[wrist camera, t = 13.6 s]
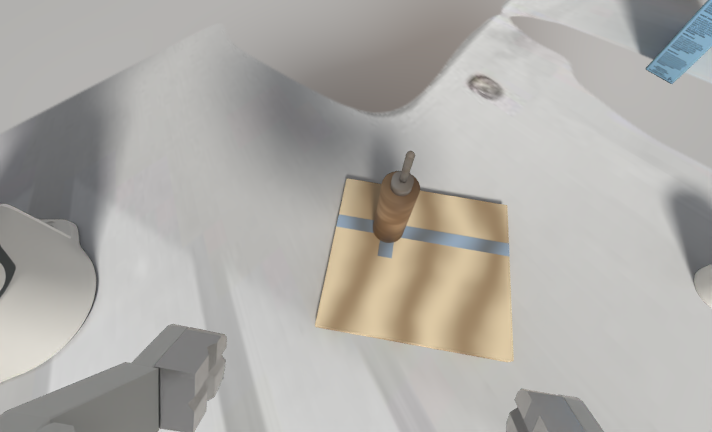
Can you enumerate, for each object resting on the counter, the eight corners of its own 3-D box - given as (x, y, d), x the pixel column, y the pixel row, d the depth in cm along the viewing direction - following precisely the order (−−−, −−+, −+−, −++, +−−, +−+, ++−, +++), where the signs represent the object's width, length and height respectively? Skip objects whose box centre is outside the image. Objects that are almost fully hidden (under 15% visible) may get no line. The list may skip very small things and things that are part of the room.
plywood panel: (315, 326, 37) (315, 324, 35) (346, 183, 45) (346, 177, 44) (508, 362, 36) (513, 360, 35) (503, 209, 44) (507, 205, 43)
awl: (370, 240, 40) (386, 167, 28) (374, 212, 42) (391, 132, 29) (401, 245, 40) (432, 174, 27) (404, 217, 42) (434, 139, 29)
